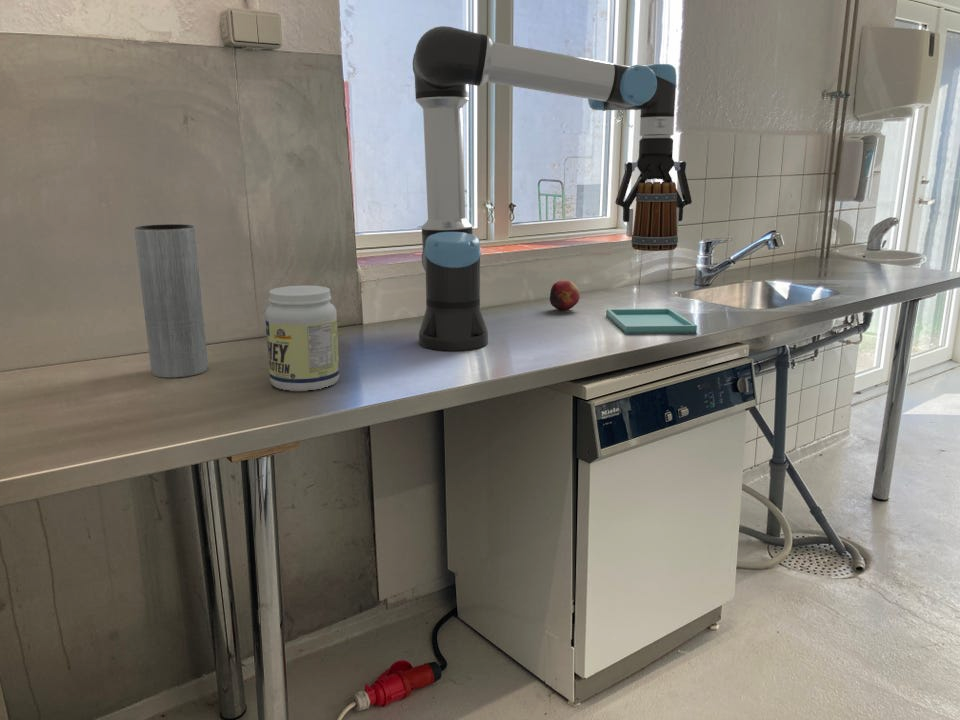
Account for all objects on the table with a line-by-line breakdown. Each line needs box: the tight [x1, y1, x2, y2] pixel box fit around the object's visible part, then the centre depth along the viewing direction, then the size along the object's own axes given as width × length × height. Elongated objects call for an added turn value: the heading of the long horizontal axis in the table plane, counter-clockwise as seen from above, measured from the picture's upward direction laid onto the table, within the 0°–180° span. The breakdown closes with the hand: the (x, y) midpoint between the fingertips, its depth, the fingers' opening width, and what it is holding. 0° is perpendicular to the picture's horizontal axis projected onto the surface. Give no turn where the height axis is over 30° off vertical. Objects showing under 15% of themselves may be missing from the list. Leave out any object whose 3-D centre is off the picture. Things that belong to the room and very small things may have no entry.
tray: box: [605, 308, 698, 335], centre depth 180 cm, size 17×21×2 cm
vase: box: [134, 223, 209, 379], centre depth 136 cm, size 10×10×27 cm
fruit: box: [549, 280, 581, 312], centre depth 196 cm, size 8×8×8 cm
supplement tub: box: [264, 284, 340, 392], centre depth 130 cm, size 12×12×17 cm
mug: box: [630, 181, 679, 252], centre depth 173 cm, size 16×11×15 cm
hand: (651, 235), depth 174 cm, fingers closed on mug, 10 cm apart
